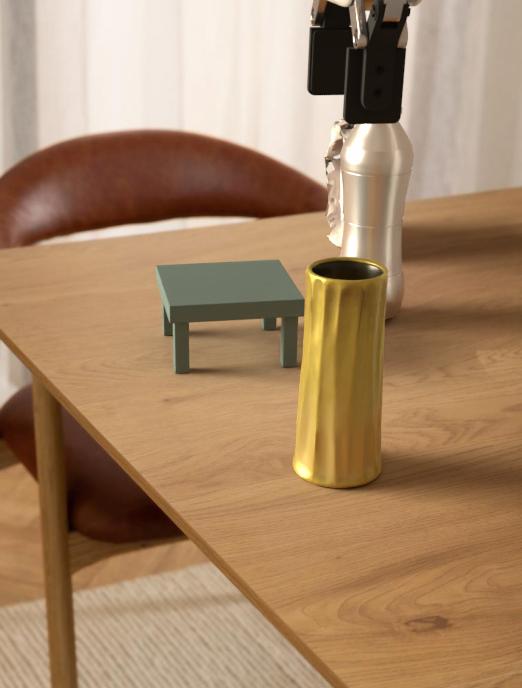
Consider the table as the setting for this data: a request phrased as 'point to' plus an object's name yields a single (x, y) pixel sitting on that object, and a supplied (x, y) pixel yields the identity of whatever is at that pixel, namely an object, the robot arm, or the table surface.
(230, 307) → the stool
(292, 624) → the table surface
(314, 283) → the vase
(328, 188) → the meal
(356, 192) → the silver water bottle
